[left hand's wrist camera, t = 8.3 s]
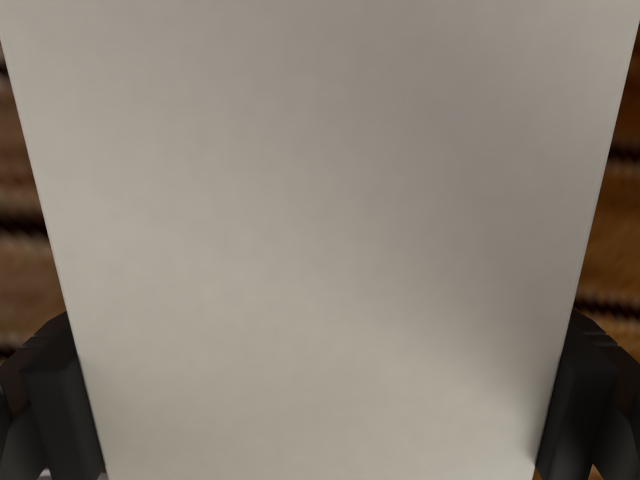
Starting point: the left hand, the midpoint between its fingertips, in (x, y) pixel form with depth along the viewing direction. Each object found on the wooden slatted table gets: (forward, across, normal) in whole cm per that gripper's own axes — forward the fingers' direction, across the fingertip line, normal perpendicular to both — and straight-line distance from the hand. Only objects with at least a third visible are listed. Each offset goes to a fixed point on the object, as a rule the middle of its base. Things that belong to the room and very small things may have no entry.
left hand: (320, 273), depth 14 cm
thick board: (+1, 0, -19) cm, 19 cm away
